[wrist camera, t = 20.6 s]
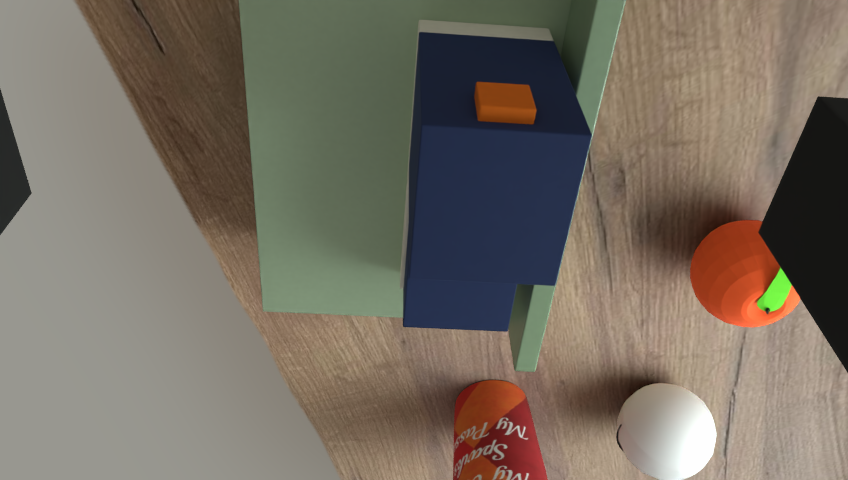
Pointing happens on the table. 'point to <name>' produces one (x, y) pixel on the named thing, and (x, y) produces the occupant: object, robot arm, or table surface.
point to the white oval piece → (666, 431)
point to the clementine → (741, 277)
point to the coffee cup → (495, 434)
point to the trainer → (487, 172)
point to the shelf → (372, 141)
